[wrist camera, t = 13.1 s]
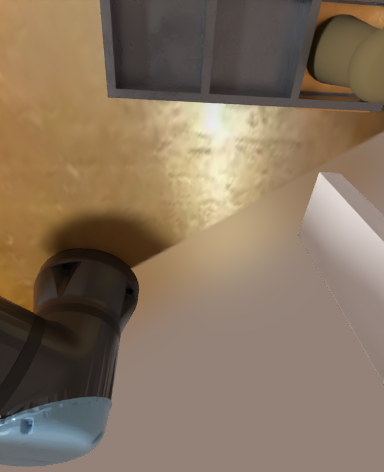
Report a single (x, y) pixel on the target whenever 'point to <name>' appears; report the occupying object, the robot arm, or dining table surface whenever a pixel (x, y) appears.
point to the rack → (225, 51)
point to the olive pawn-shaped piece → (349, 56)
